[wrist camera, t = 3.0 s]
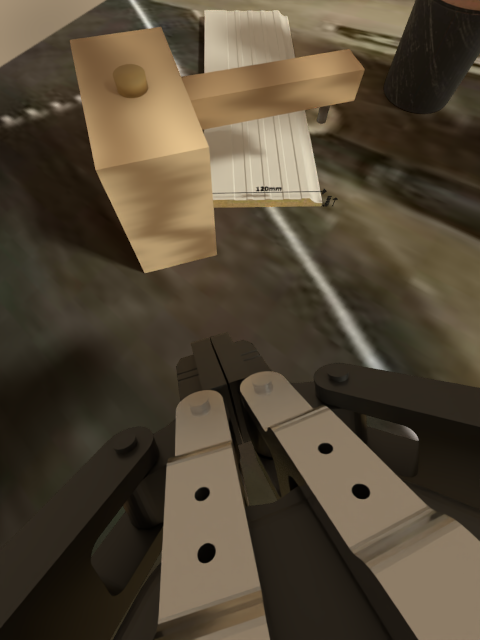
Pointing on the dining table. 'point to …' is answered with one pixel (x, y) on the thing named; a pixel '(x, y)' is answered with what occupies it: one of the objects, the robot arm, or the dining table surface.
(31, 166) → the dining table surface
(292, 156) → the baseboard
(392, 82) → the travel mug
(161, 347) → the dining table surface
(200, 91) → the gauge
